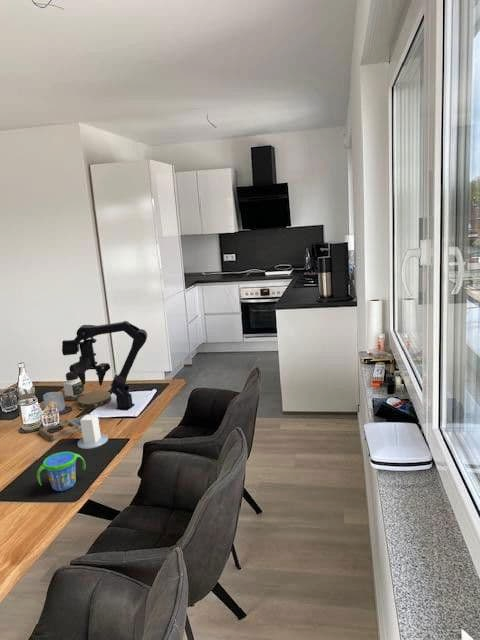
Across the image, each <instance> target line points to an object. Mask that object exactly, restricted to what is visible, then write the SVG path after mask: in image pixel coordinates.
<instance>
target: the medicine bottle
mask: <svg viewBox="0 0 480 640" xmlns="http://www.w3.org/2000/svg"><path fill="white" fill-rule="evenodd" d="M65 379H66V381H65V382H63V383H62V384H63V390H64V395H65V396H66V397H70V396H71V398H76V397H79V396H82V395H84V394H86V393H85V392H86V391H85V386H84V385H83V384H82V382H81V380H80V379H79V377H78V376H77V375H76V374H75V373H72V372H70V371H68V372H67V373H66V374H65ZM78 395H79V396H78Z"/></svg>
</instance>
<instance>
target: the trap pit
mask: <svg viewBox="0 0 480 640" xmlns="http://www.w3.org/2000/svg"><path fill="white" fill-rule="evenodd" d="M85 415H92V414H91V413H87V414H84V415H81V416H78V417H76V418H72V419H71V420H67V421H68V426H71V427H73V426H76V425H77V426H78V430H79V431H82V428H81V422H80V420H81V419H82V418H83V417H84V416H85ZM98 421H99V423H101V419H100V418H99V417H98Z"/></svg>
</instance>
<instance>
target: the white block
mask: <svg viewBox="0 0 480 640" xmlns="http://www.w3.org/2000/svg"><path fill="white" fill-rule="evenodd" d="M84 415H85V416H84ZM84 415H83V416H84V417H83V418H82V419H81V420H80V422H81V428H82V429H81V432H82V433H81V434H82V438H83V440H84V443H96V442H97V441H98V440H99V439H100V438H101V434H102V433H101V429H100V422H99V421H98V418H99V417H98V416H99V415H98V414H91V415H87V414H84Z"/></svg>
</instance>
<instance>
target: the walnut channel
mask: <svg viewBox="0 0 480 640" xmlns="http://www.w3.org/2000/svg"><path fill="white" fill-rule="evenodd" d="M68 421H69V420H68V419H64V420H60V421H58V422H59V424H60V425H61V426H63V427H62V428H64V427H68V426H69V422H68ZM50 425H51V426H49V425H47V426H44V427H41V428H39V429H38V432H39V435H40V436H42V437H43V438H45V439H46V440H47V441H49V442H50V443H52V442H54V441H57V440H60V439H62V438H65V437H67V436H70V435H73V434H75V433H77V432H79V431H80V430H78V426H77V425H76V426H71V427H68V428H66V429H62V430H60V431H58V432H55V433H52V434H51V433H50V432H47V430H48V429H49V428H51V427H52V426H53V425H52V424H50Z"/></svg>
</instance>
